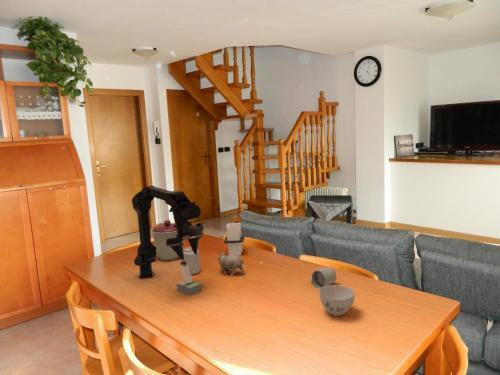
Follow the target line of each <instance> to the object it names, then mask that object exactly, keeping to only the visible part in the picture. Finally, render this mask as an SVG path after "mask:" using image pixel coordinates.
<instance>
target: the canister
mask: <svg viewBox="0 0 500 375" xmlns="http://www.w3.org/2000/svg"><path fill="white" fill-rule="evenodd" d="M173 225H175V222H174V223H173V222H171V220H170V219H166V220H164V221H163V223H162V224H158V225H155V226H154V227H153V228H150V233H152V239H153V243H154V244H153V245H154V246H156V252H157V254H156V257H157V258H158V259H159V260H161V261H175V260H177V259H180V257H179V256H178V255H177V254H176V252H175V251H174V250H173V249H172V248H171V247H169V246H170V245H169V246H167V245H166V240H167V239H168V238H171V237H176V236H175V235H176V234H177V230H176V227H173ZM182 243H184V241H183V242H182ZM182 248H183V249H184V246H183V247H182Z"/></svg>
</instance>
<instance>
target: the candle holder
mask: <svg viewBox="0 0 500 375" xmlns="http://www.w3.org/2000/svg"><path fill="white" fill-rule="evenodd" d="M241 225H242V224H241V222H232V223H227V224H226V236H225V238H224V242H223V244H227V249H228V255H230V254H233V255H238V256H242V253H243V244H242V243H244V241H245V237H246V236H245V235H242V226H241Z"/></svg>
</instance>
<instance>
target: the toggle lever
mask: <svg viewBox="0 0 500 375" xmlns="http://www.w3.org/2000/svg"><path fill="white" fill-rule="evenodd" d="M179 266H180V271H181V273H182V276H183V279H184V280H183V281H185V283H186V284H187V283H190V282H192V281H194V280H193V276H192V274H191V273H190V270H189V267H188V264H187V263H186V261H184V260H181V262H180V265H179Z"/></svg>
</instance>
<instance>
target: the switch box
mask: <svg viewBox="0 0 500 375" xmlns="http://www.w3.org/2000/svg"><path fill="white" fill-rule="evenodd" d="M176 291H177V292H180V293H183V294H185V295H188V296H193V295H195V294H197V293H200V292H202V291H203V290H202V283H200V282H196V281H194V280H193V281H192V282H190V283H187V284H186V283H185V280H183V281H181V282H178V283H176Z"/></svg>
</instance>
